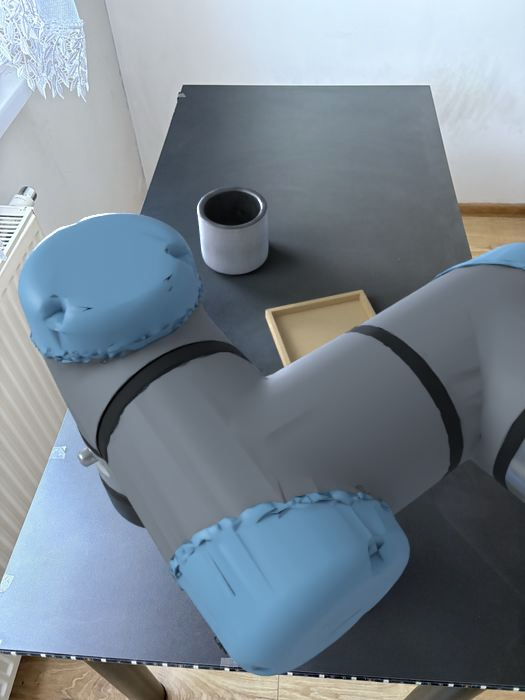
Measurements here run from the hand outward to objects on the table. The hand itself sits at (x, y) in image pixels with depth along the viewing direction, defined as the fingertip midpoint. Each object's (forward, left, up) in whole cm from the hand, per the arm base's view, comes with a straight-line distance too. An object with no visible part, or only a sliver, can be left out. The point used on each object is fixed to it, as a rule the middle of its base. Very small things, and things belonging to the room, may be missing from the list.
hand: (194, 572), depth 52 cm
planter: (+65, -18, -23) cm, 72 cm away
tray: (+37, -28, -23) cm, 52 cm away
